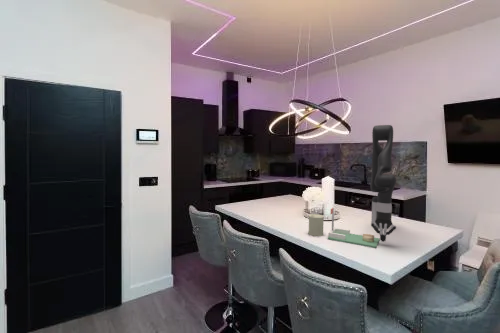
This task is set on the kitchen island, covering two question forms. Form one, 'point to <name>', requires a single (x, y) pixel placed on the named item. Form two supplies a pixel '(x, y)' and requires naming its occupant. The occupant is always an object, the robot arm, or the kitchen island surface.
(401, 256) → the kitchen island surface
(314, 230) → the can
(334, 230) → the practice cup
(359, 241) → the putting green
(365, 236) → the puck
